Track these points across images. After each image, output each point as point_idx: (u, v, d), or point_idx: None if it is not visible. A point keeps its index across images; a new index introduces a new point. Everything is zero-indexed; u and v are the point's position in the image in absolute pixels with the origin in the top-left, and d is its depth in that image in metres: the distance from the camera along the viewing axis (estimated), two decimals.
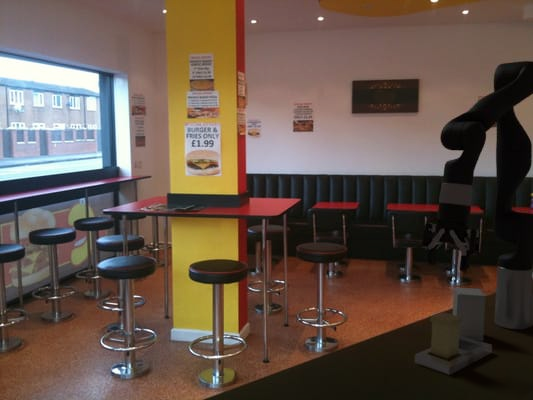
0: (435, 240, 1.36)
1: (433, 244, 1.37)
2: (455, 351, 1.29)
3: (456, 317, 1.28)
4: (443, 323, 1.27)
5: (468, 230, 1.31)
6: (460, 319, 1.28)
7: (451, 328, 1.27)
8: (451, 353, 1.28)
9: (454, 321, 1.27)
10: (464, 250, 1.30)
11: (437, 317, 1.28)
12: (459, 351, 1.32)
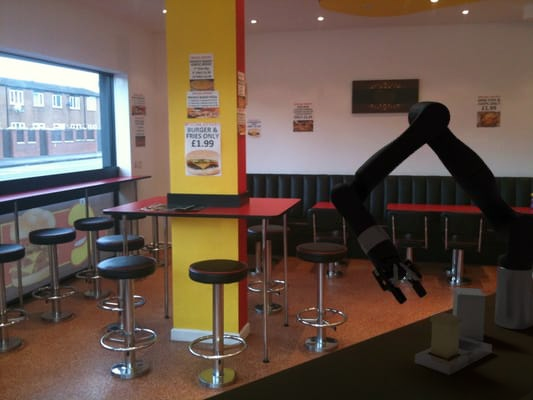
0: None
1: None
2: (455, 351, 1.29)
3: (456, 317, 1.28)
4: (443, 323, 1.27)
5: None
6: (460, 319, 1.28)
7: (451, 328, 1.27)
8: (451, 353, 1.28)
9: (454, 321, 1.27)
10: None
11: (437, 317, 1.28)
12: (459, 351, 1.32)
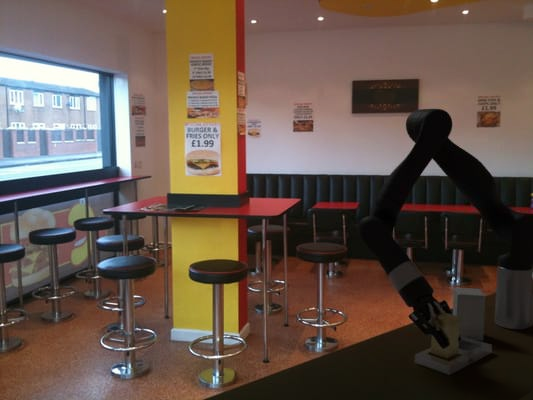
0: None
1: None
2: (455, 351, 1.29)
3: (456, 317, 1.28)
4: (443, 323, 1.27)
5: None
6: (460, 319, 1.28)
7: (451, 328, 1.27)
8: (451, 353, 1.28)
9: (454, 321, 1.27)
10: None
11: (437, 317, 1.28)
12: (459, 351, 1.32)
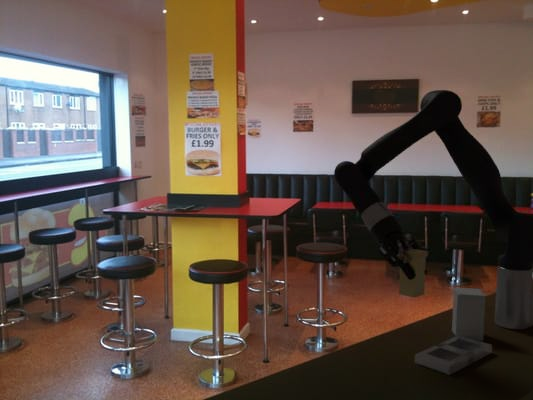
0: None
1: None
2: (421, 283, 1.38)
3: (422, 251, 1.38)
4: (410, 256, 1.36)
5: None
6: (426, 253, 1.38)
7: (417, 261, 1.36)
8: (418, 284, 1.37)
9: (420, 254, 1.36)
10: None
11: (405, 251, 1.38)
12: (459, 351, 1.32)
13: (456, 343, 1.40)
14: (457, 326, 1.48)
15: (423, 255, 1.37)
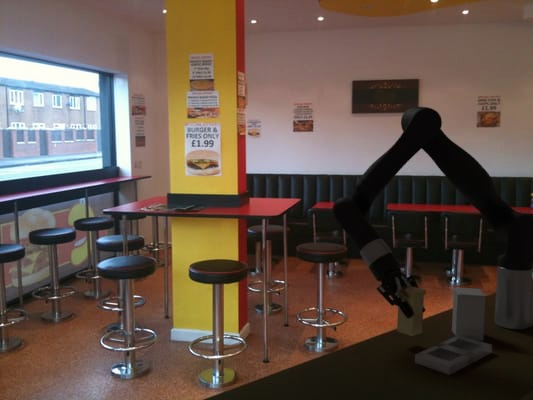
0: None
1: None
2: (419, 321, 1.39)
3: (421, 290, 1.39)
4: (408, 295, 1.37)
5: None
6: (424, 291, 1.39)
7: (415, 300, 1.37)
8: (416, 323, 1.38)
9: (418, 293, 1.37)
10: None
11: (403, 290, 1.39)
12: (459, 351, 1.32)
13: (456, 343, 1.40)
14: (457, 326, 1.48)
15: (421, 294, 1.38)
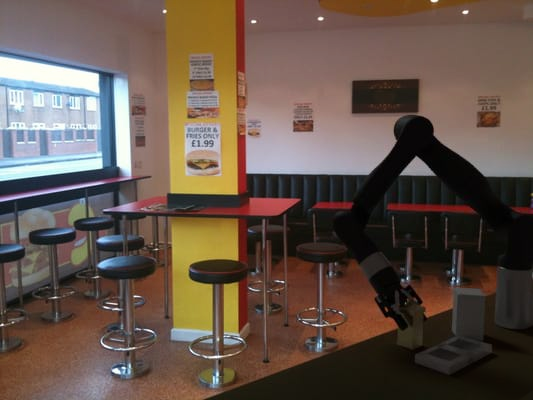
0: None
1: None
2: (419, 338, 1.40)
3: (420, 307, 1.39)
4: (408, 312, 1.38)
5: None
6: (424, 309, 1.39)
7: (415, 317, 1.38)
8: (416, 340, 1.39)
9: (418, 310, 1.38)
10: None
11: (403, 307, 1.39)
12: (459, 351, 1.32)
13: (456, 343, 1.40)
14: (457, 326, 1.48)
15: (421, 311, 1.39)
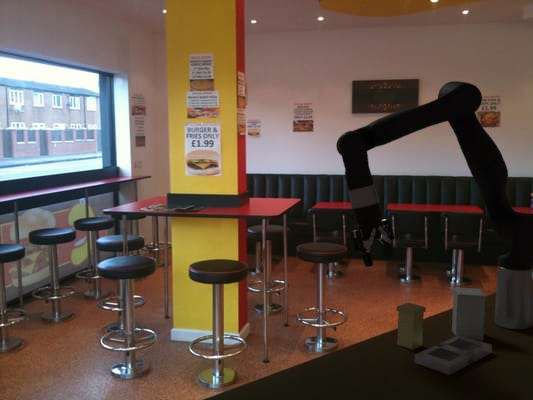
0: None
1: None
2: (419, 338, 1.40)
3: (420, 307, 1.39)
4: (408, 312, 1.38)
5: None
6: (424, 309, 1.39)
7: (415, 317, 1.38)
8: (416, 340, 1.39)
9: (418, 310, 1.38)
10: None
11: (403, 307, 1.39)
12: (459, 351, 1.32)
13: (456, 343, 1.40)
14: (457, 326, 1.48)
15: (421, 311, 1.39)
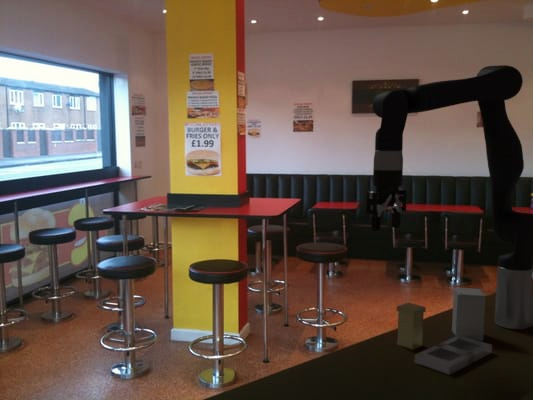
0: None
1: None
2: (419, 338, 1.40)
3: (420, 307, 1.39)
4: (408, 312, 1.38)
5: None
6: (424, 309, 1.39)
7: (415, 317, 1.38)
8: (416, 340, 1.39)
9: (418, 310, 1.38)
10: None
11: (403, 307, 1.39)
12: (459, 351, 1.32)
13: (456, 343, 1.40)
14: (457, 326, 1.48)
15: (421, 311, 1.39)
